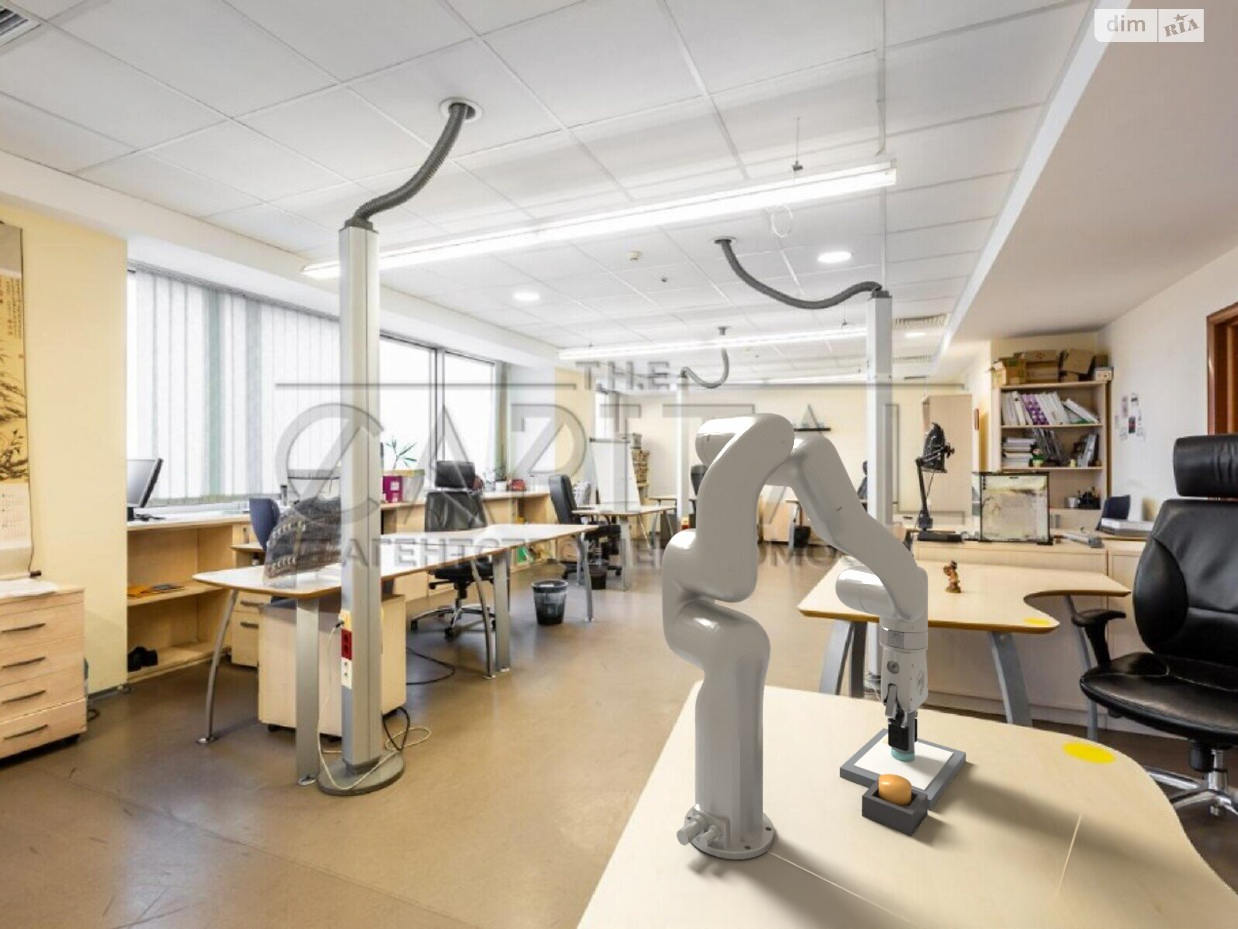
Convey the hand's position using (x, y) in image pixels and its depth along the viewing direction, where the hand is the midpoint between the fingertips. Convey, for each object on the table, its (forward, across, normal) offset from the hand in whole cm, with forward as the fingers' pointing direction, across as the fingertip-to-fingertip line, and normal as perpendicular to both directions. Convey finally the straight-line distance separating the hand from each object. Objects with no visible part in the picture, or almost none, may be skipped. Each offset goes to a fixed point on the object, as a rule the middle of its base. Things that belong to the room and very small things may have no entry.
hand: (902, 742), depth 104 cm
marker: (+2, 0, 0) cm, 2 cm away
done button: (+1, -16, -4) cm, 16 cm away
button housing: (+4, -16, -4) cm, 17 cm away
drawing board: (+4, -1, 0) cm, 4 cm away
